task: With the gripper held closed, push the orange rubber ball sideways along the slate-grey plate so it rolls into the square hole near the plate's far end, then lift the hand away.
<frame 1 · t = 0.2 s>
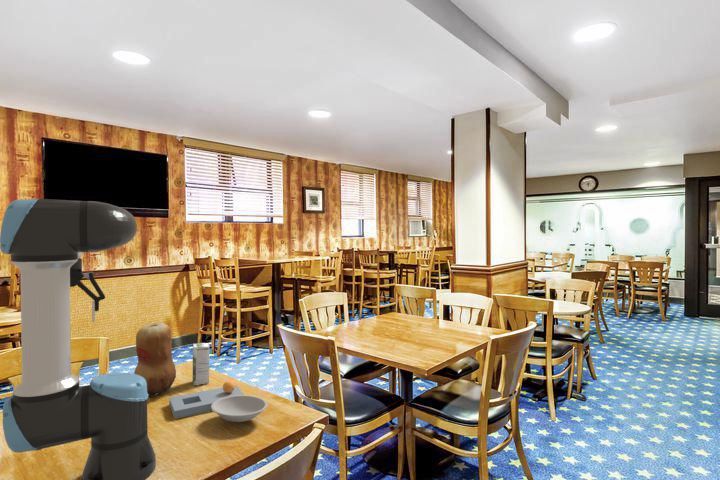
hand: (68, 323, 132), 28 cm above the table, tool pointing down, fingers open, 13 cm apart
ball: (228, 386, 141), point 4 cm above the table, touching hole plate
syrup box: (200, 383, 157), on the table
butternut squash: (155, 394, 146), on the table
hole plate: (207, 404, 137), on the table
dish: (239, 421, 125), on the table
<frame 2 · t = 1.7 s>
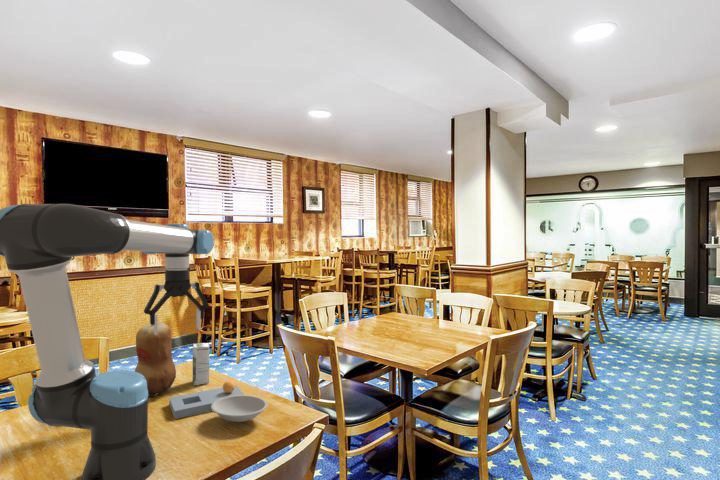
hand: (177, 331, 139), 24 cm above the table, tool pointing down, fingers open, 13 cm apart
nothing on the table moved.
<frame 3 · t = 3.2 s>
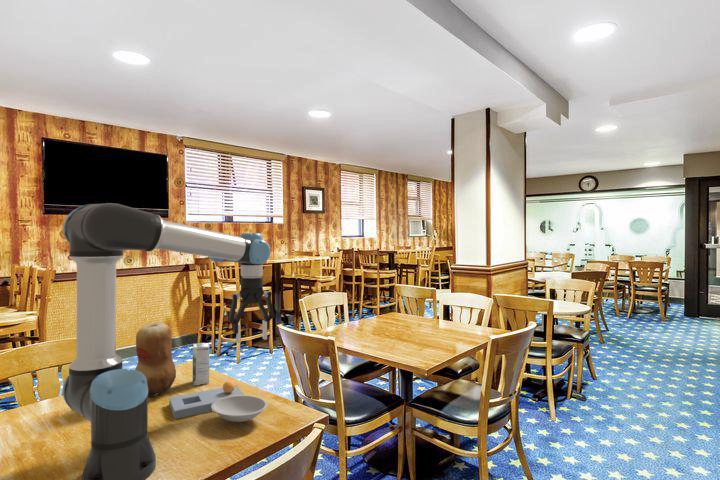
hand: (251, 340, 144), 19 cm above the table, tool pointing down, fingers open, 9 cm apart
nothing on the table moved.
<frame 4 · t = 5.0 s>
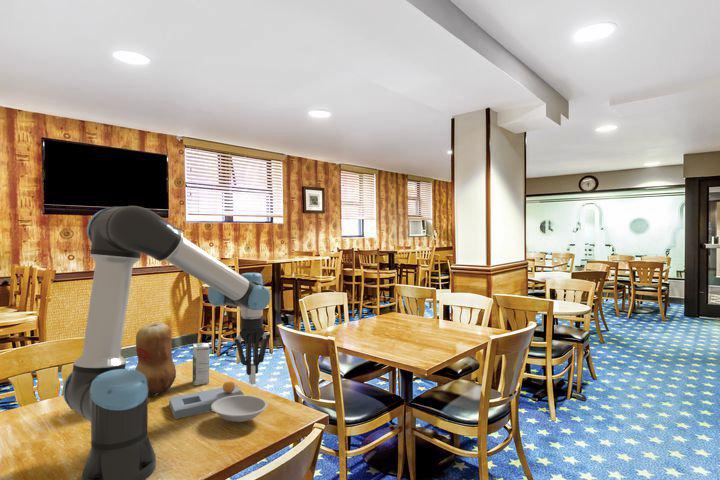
hand: (252, 382, 145), 4 cm above the table, tool pointing down, fingers closed
nothing on the table moved.
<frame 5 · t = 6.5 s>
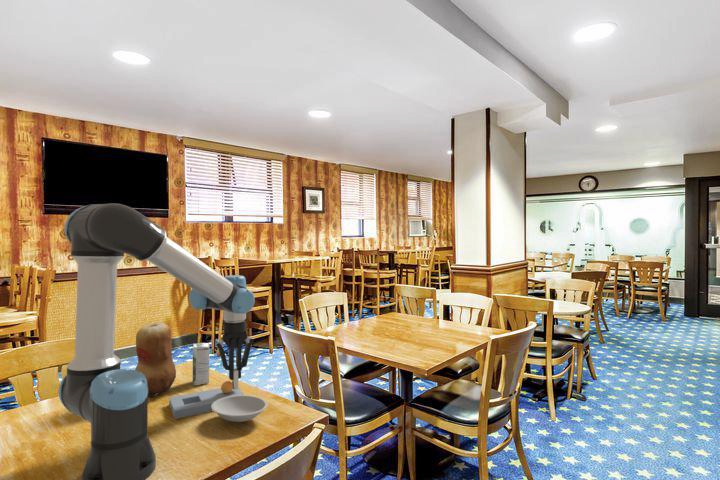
hand: (235, 388, 142), 4 cm above the table, tool pointing down, fingers closed
ball: (227, 387, 140), point 4 cm above the table, tilted 16°, touching gripper, hole plate
everything else where it was.
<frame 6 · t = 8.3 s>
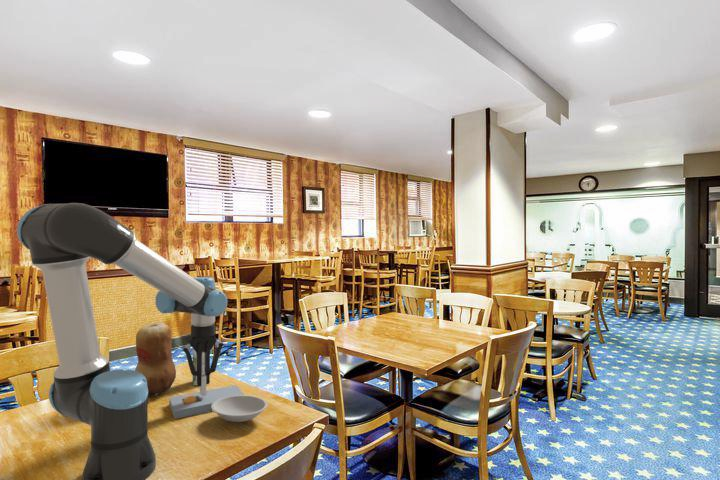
hand: (203, 394, 136), 4 cm above the table, tool pointing down, fingers closed
ball: (189, 401, 134), point 2 cm above the table
everything else where it was.
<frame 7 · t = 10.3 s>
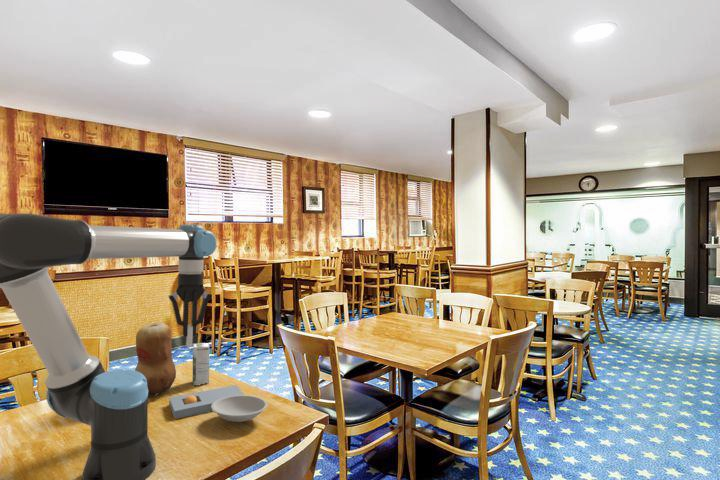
hand: (189, 346, 132), 21 cm above the table, tool pointing down, fingers closed
ball: (190, 401, 134), point 2 cm above the table, tilted 8°
everything else where it was.
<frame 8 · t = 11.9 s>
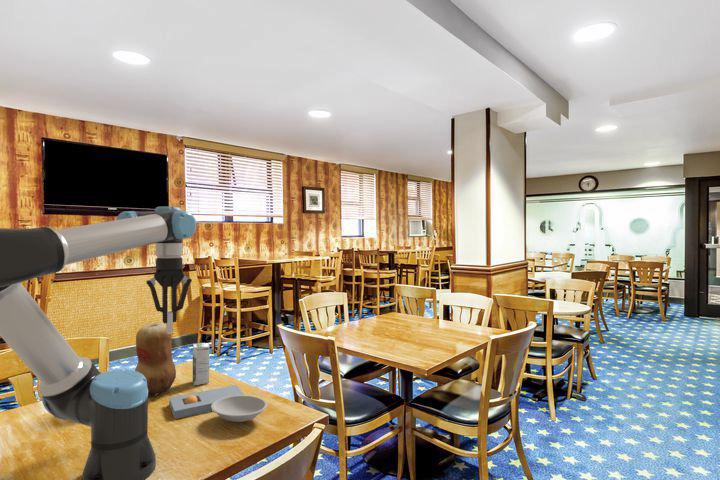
hand: (169, 332, 127), 26 cm above the table, tool pointing down, fingers closed
ball: (191, 401, 134), point 2 cm above the table, tilted 13°
everything else where it was.
at the end: ball 0.2 cm from the target spot on the hole plate, point 2.0 cm above the hole plate's base; ball moved 12.4 cm from its start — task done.
